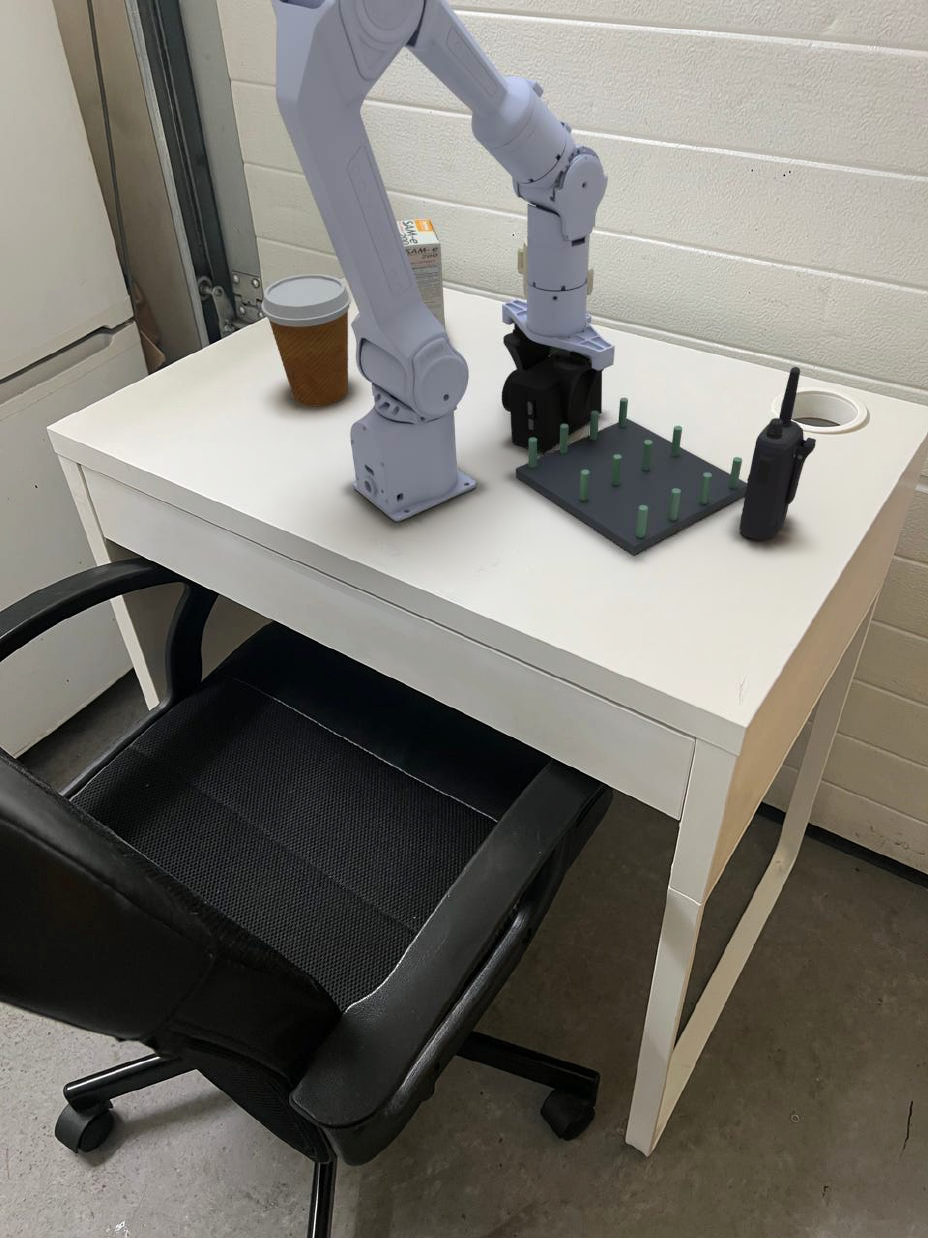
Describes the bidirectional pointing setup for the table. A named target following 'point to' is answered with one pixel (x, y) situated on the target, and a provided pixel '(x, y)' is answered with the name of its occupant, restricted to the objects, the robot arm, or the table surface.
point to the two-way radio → (775, 469)
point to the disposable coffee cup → (311, 335)
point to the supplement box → (425, 262)
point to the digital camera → (542, 404)
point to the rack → (631, 481)
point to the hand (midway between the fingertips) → (553, 408)
